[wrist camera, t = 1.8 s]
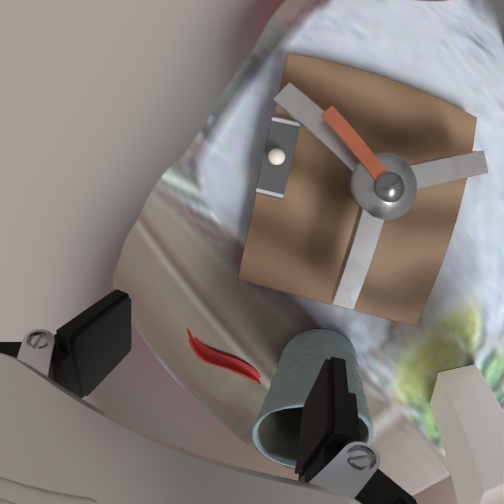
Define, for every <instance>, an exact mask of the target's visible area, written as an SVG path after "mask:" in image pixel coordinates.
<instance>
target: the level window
mask: <svg viewBox="0 0 504 504" xmlns="http://www.w3.org/2000/svg"><path fill="white" fill-rule="evenodd" d="M299 128H300V124H299V123H298V122H297V121H296V120H292V119H287V118H282V117H278V116H273V117H272V121H271V126H270V130H269V134H268V139H267V143H266V148H265V152H264V157H263V161H262V166H261V170H260V175H259V179H258V184H257V188H256V193H257V194H261V195H265V196H269V197H273V198H277V199H281V200H283V197H284V193H285V188H286V184H287V180H288V176H289V171H290V167H291V163H292V158H293V154H294V150H295V145H296V141H297V137H298V132H299ZM276 148H278V149H281V150H282V151H283V152H284V153H285V160H284V162H283V163H282V164H280V165H274V164H272V163H271V162H270V161H269V158H268V155H269V152H270V151H271V150H273V149H276Z"/></svg>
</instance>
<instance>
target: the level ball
mask: <svg viewBox="0 0 504 504" xmlns="http://www.w3.org/2000/svg"><path fill="white" fill-rule="evenodd" d="M268 158H269V161H270V162H271V163H272V164H274V165H280V164H282V163H283V162H284V160H285V153H284V152H283V151H282V150H281V149H278V148H276V149H273V150H271V151H270V152H269V155H268Z"/></svg>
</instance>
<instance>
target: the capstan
mask: <svg viewBox="0 0 504 504" xmlns="http://www.w3.org/2000/svg"><path fill="white" fill-rule="evenodd" d="M274 101H275V103H276V104H277V105H278V106H279V107H280V108H282V109H283V110H284V111H285V112H286V113H288V114H289V115H290V116H291V117H292V118H293V119H295V120H296V121H297V122H298V123H299V124H300V125H301V126H303V127H304V128H305V129H306V130H307V131H308V132H309V133H310V134H311V135H313V136H314V137H315V138H316V139H317V140H318V141H319V142H320V143H321V144H322V145H323V146H324V147H325V148H326V149H327V150H329V151H330V152H331V153H332V154H333V155H334V156H335V157H336V158H337V159H338V160H339V161H340V162H341V163H342V164H343V165H344V166H345V167H346V168H347V169H348V171H347V174H346V181H345V182H346V189H347V192H348V194H349V196H350V197H351V199H352V200H353V201H354V202H355V203H356V204H357V205H359V209H358V213H357V216H356V220H355V223H354V227H353V230H352V233H351V237H350V240H349V243H348V247H347V250H346V253H345V256H344V259H343V262H342V265H341V269H340V272H339V275H338V278H337V281H336V283H335V286H334V289H333V292H332V295H331V296H332V304H333V305H337V306H341V307H345V308H348V309H352V310H353V309H354V306H355V303H356V301H357V298H358V296H359V293H360V290H361V288H362V285H363V282H364V280H365V277H366V274H367V271H368V268H369V265H370V262H371V260H372V257H373V254H374V251H375V248H376V244H377V241H378V238H379V235H380V232H381V228H382V225H383V222H384V220H392V219H396V218H399V217H401V216H402V215H404V214H405V213H406V212H407V211H408V210H409V209H410V208H411V207H412V205H413V203H414V201H415V198H416V195H417V189H420V188H424V187H428V186H432V185H436V184H441V183H445V182H449V181H454V180H458V179H462V178H467V177H471V176H476V175H480V174H485V173H488V169H487V164H486V159H485V155H484V151H473V152H467V153H462V154H457V155H452V156H447V157H442V158H437V159H432V160H428V161H423V162H418V163H414V164H408V163H407V162H406V161H405V160H404V159H403V158H401V157H399V156H397V155H395V154H392V153H378V154H374V153H373V152H372V151H371V150H370V148H369V147H368V146H367V145H366V143H365V142H364V141H363V140H362V138H361V137H360V136H359V135H358V134H357V133H356V131H355V130H354V129H353V128H352V127H351V125H350V124H349V123H348V122H347V121H346V120H345V119H344V118H343V116H342V115H341V114H340V113H339V112H338V111H337V110H336V109H335V108H334V106H333V105H332V106H331V107H330V108H328V109H327V110H326V111H325V112H324V111H323V110H322V109H321V108H320V107H319V106H317V105H316V104H315V103H314V102H313V101H312V100H310V99H309V98H308V97H307V96H306V95H304V94H303V93H302V92H301V91H300V90H298V89H297V88H296V87H295V86H293V85H292V84H291V83H290V82H289V83H288V84H287V85H286V86H285V87H284V88H283V89H282V90H281V92H280V93H279V94H278V95H277V96H276V97H275V98H274Z"/></svg>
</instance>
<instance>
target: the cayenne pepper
mask: <svg viewBox="0 0 504 504" xmlns="http://www.w3.org/2000/svg"><path fill="white" fill-rule="evenodd" d="M188 334H189V338H190V339H189V342H190V345H191V347H192V349H193V351H194V352H195V354H196V355H197V356H198V357H199V358H200V359H201V360H202V361H204V362H206V363H209V364H212V365H215V366H219V367H222V368H225V369H228V370H230V371H232V372H235V373H237V374H239V375H241V376H244V377H246V378H248V379H250V380H253V381H256V382H258V383H259V384H260V385H261V383H260V380H259V378H260V377H261V376H260V374H259V373H258V372H257V371H256V370H255V369H254V368H253V367H252V366H251V365H249V364H248V363H246V362H244V361H243V360H241V359H238V358H236V357H234V356H231V355H228V354H225V353H222V352H219V351H216V350H214V349H212V348H210V347H208V346H206V345H204V344H203V343H201V342H200V341H199V340H198V339H197V338H196V337H195V338H193V337H192V335H191V333H190V331H189V329H188Z"/></svg>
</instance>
